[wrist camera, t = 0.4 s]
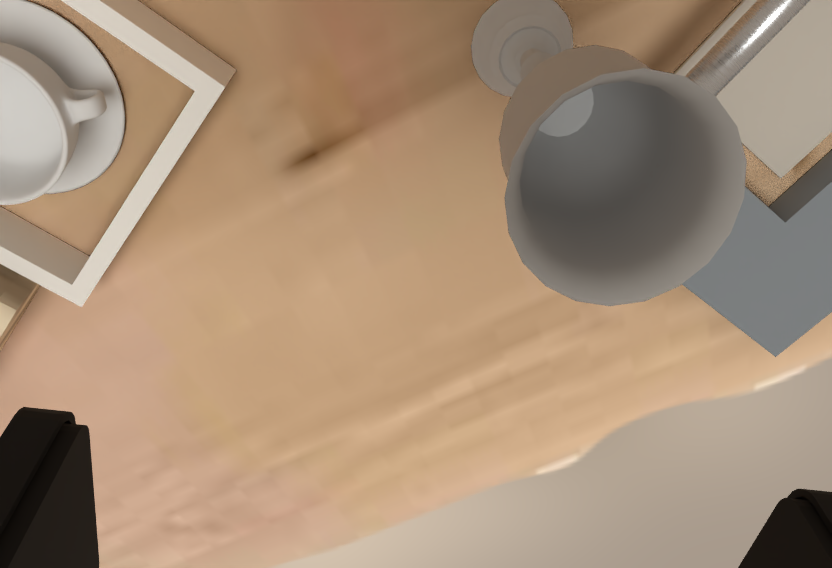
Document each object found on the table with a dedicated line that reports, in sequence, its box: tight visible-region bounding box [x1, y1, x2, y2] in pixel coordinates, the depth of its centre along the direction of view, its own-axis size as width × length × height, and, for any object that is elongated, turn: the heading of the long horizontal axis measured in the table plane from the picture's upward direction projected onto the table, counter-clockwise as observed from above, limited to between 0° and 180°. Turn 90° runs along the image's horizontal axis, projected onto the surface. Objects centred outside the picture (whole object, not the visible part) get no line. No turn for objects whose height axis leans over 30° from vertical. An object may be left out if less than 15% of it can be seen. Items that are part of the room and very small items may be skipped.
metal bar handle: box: [685, 0, 811, 96], centre depth 33 cm, size 17×2×6 cm, turn 142°
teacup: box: [0, 0, 125, 205], centre depth 35 cm, size 10×10×5 cm
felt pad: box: [674, 0, 832, 178], centre depth 37 cm, size 9×9×1 cm
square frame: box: [0, 0, 236, 307], centre depth 35 cm, size 15×15×3 cm
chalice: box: [471, 0, 747, 306], centre depth 28 cm, size 7×7×18 cm
